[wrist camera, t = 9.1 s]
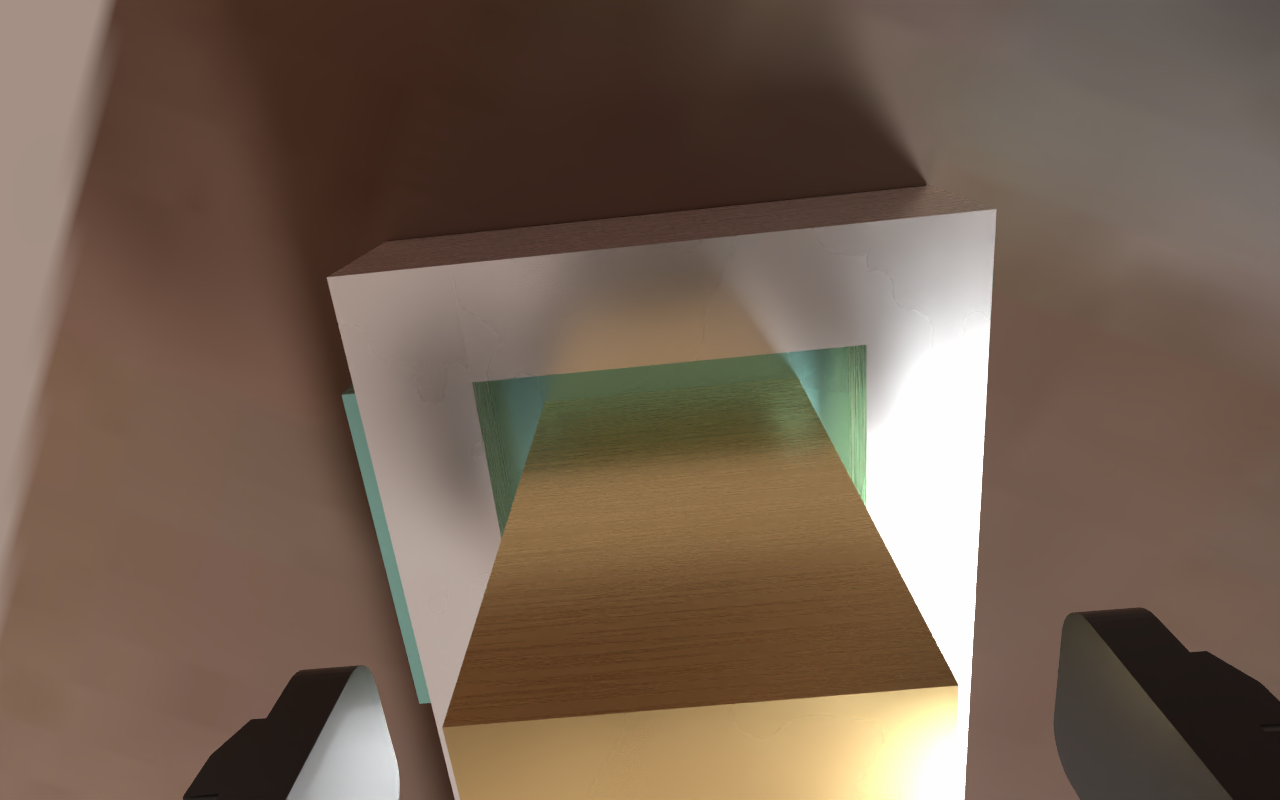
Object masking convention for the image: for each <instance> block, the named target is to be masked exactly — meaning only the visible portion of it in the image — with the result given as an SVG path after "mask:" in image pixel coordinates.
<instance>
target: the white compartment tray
mask: <svg viewBox="0 0 1280 800" xmlns="http://www.w3.org/2000/svg"><path fill="white" fill-rule="evenodd" d="M995 226H996V209H995V208H992V207H989V206H986V205H983V204H980V203H978V202H975V201H972V200H969V199H966V198H963V197H961V196H958V195H955V194H952V193H949V192H946V191H944V190H941V189H938V188H935V187H932V186H930V185H929V186H919V187H909V188H900V189H890V190H880V191H871V192H861V193H851V194H842V195H832V196H822V197H813V198H803V199H793V200H784V201H774V202H764V203H755V204H745V205H735V206H726V207H716V208H706V209H697V210H687V211H677V212H668V213H658V214H648V215H639V216H629V217H619V218H610V219H600V220H590V221H581V222H571V223H561V224H552V225H542V226H532V227H523V228H513V229H503V230H494V231H484V232H474V233H465V234H455V235H445V236H436V237H426V238H416V239H407V240H397V241H387V242H384V243H383V244H381V245H379V246H378V247H376V248H374V249H373V250H371V251H369V252H368V253H366V254H364V255H363V256H361V257H360V258H358V259H356V260H355V261H353V262H351V263H350V264H348V265H346V266H345V267H343V268H341V269H340V270H338V271H336V272H335V273H333V274H331V275H330V276H328V277H327V281H328V285H329V289H330V293H331V297H332V301H333V305H334V309H335V313H336V317H337V322H338V326H339V330H340V334H341V338H342V342H343V346H344V350H345V354H346V358H347V362H348V366H349V370H350V374H351V379H352V383H353V384H352V385H351V386H350V387H349V388H348V389H347V390H346V391H345V392H344V393H343V394H342V399H343V403H344V407H345V411H346V414H347V418H348V422H349V426H350V430H351V434H352V438H353V442H354V446H355V450H356V454H357V458H358V462H359V466H360V470H361V474H362V478H363V482H364V486H365V490H366V494H367V498H368V502H369V506H370V510H371V514H372V518H373V522H374V526H375V530H376V534H377V537H378V541H379V545H380V549H381V553H382V557H383V561H384V565H385V569H386V573H387V577H388V581H389V585H390V589H391V593H392V597H393V601H394V605H395V609H396V613H397V617H398V621H399V625H400V629H401V633H402V637H403V641H404V645H405V649H406V653H407V657H408V660H409V664H410V668H411V672H412V676H413V680H414V684H415V688H416V692H417V696H418V700H419V704H422V703H431V705H432V709H433V713H434V717H435V721H436V725H437V729H438V733H439V737H440V741H441V745H442V749H443V753H444V758H445V762H446V766H447V770H448V774H449V778H450V782H451V786H452V790H453V794H454V798H455V800H460V797H459V793H458V789H457V785H456V781H455V777H454V773H453V769H452V765H451V761H450V757H449V753H448V749H447V745H446V741H445V737H444V733H443V729H442V726H443V723H444V720H445V717H446V714H447V711H448V707H449V704H450V701H451V698H452V695H453V692H454V688H455V685H456V682H457V679H458V676H459V673H460V669H461V666H462V663H463V660H464V657H465V653H466V650H467V647H468V644H469V641H470V638H471V634H472V631H473V628H474V625H475V622H476V619H477V615H478V612H479V609H480V606H481V603H482V600H483V596H484V593H485V590H486V587H487V584H488V581H489V577H490V574H491V571H492V568H493V565H494V561H495V558H496V555H497V552H498V549H499V546H500V542H501V539H502V536H503V533H504V530H505V527H506V523H507V520H508V517H509V514H510V511H511V508H512V504H513V501H514V498H515V495H516V492H517V488H518V485H519V482H520V479H521V476H522V473H523V469H524V466H525V463H526V460H527V457H528V454H529V450H530V447H531V444H532V441H533V438H534V435H535V431H536V428H537V425H538V422H539V419H540V415H541V412H542V409H543V406H544V403H545V402H548V401H558V400H569V399H579V398H589V397H599V396H609V395H619V394H630V393H640V392H650V391H660V390H670V389H680V388H691V387H701V386H711V385H721V384H731V383H741V382H752V381H762V380H772V379H782V378H792V377H798V379H799V380H800V382H801V384H802V386H803V388H804V390H805V392H806V394H807V396H808V398H809V400H810V401H811V403H812V405H813V407H814V409H815V411H816V413H817V415H818V417H819V419H820V421H821V422H822V424H823V426H824V428H825V430H826V432H827V434H828V436H829V438H830V440H831V442H832V443H833V445H834V447H835V449H836V451H837V453H838V455H839V457H840V459H841V461H842V463H843V464H844V466H845V468H846V470H847V472H848V474H849V476H850V478H851V480H852V482H853V484H854V485H855V487H856V489H857V491H858V493H859V495H860V497H861V499H862V501H863V503H864V505H865V506H866V508H867V510H868V512H869V514H870V516H871V518H872V520H873V522H874V524H875V526H876V527H877V529H878V531H879V533H880V535H881V537H882V539H883V541H884V543H885V545H886V547H887V548H888V550H889V552H890V554H891V556H892V558H893V560H894V562H895V564H896V566H897V568H898V569H899V571H900V573H901V575H902V577H903V579H904V581H905V583H906V585H907V587H908V589H909V590H910V592H911V594H912V596H913V598H914V600H915V602H916V604H917V606H918V608H919V610H920V611H921V613H922V615H923V617H924V619H925V621H926V623H927V625H928V627H929V629H930V631H931V632H932V634H933V636H934V638H935V640H936V642H937V644H938V646H939V648H940V650H941V652H942V653H943V655H944V657H945V659H946V661H947V663H948V665H949V667H950V669H951V671H952V673H953V674H954V676H955V678H956V680H957V682H958V684H959V705H958V728H957V751H956V774H955V797H954V800H964V790H965V772H966V754H967V736H968V718H969V699H970V681H971V663H972V645H973V627H974V608H975V590H976V572H977V554H978V536H979V517H980V499H981V481H982V463H983V445H984V426H985V408H986V390H987V372H988V354H989V335H990V317H991V299H992V281H993V263H994V244H995Z"/></svg>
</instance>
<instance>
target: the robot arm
mask: <svg viewBox="0 0 1280 800" xmlns="http://www.w3.org/2000/svg"><path fill="white" fill-rule="evenodd" d="M1054 734H1055V740H1056V746H1057V750H1058V754H1059V757H1060V760H1061V763H1062V766H1063V769H1064V771H1065V773H1066V775H1067V778H1068V779H1069V781H1070V783H1071V785H1072V786H1073V788H1074V790H1075V791H1076V793H1077V795H1078V796H1079V798H1080V800H1280V701H1279V700H1278V699H1277V698H1276V697H1275V696H1274V695H1273V694H1271V693H1270V692H1269V691H1268V690H1267V689H1266V688H1265V687H1264V686H1263V685H1262V684H1261V683H1260V682H1258V681H1257V680H1255V679H1253V678H1252V677H1250V676H1248V675H1246V674H1245V673H1243V672H1241V671H1240V670H1238V669H1236V668H1235V667H1233V666H1231V665H1229V664H1228V663H1226V662H1224V661H1223V660H1221V659H1219V658H1217V657H1216V656H1214V655H1212V654H1211V653H1209V652H1207V651H1202V652H1189V651H1188V650H1187V649H1186V648H1185V647H1184V646H1183V645H1182V644H1181V643H1180V642H1179V640H1178V639H1177V638H1176V637H1175V636H1174V635H1173V634H1172V633H1171V632H1170V631H1169V630H1168V629H1167V628H1166V627H1165V626H1164V625H1163V624H1162V623H1161V622H1160V621H1159V619H1158V618H1157V617H1156V616H1155V615H1153V614H1152V613H1151V612H1150V611H1148V610H1147V609H1144V608H1127V609H1114V610H1101V611H1088V612H1075V613H1071V614H1069V615H1068V616H1067V617H1066V619H1065V621H1064V624H1063V628H1062V637H1061V648H1060V658H1059V669H1058V680H1057V691H1056V701H1055V712H1054ZM183 800H399V770H398V765H397V760H396V757H395V753H394V749H393V746H392V742H391V738H390V735H389V731H388V727H387V724H386V720H385V716H384V713H383V709H382V705H381V702H380V698H379V695H378V691H377V687H376V684H375V680H374V677H373V675H372V673H371V671H370V670H369V669H368V668H367V667H366V666H363V665H361V666H348V667H335V668H322V669H309V670H300V671H299V672H297V673H296V674H295V675H294V676H293V677H292V678H291V680H290V681H289V683H288V684H287V686H286V687H285V689H284V691H283V692H282V694H281V696H280V697H279V699H278V700H277V702H276V704H275V705H274V707H273V708H272V710H271V712H270V713H269V715H268V717H267V718H265V719H251V720H250V721H249V722H248V723H247V724H246V725H244V726H243V727H242V728H241V729H240V730H239V731H238V732H237V733H235V734H234V735H233V736H232V737H231V738H230V739H229V740H227V741H226V742H225V743H224V744H223V745H222V746H221V747H220V748H218V749H217V750H216V751H215V752H214V753H213V754H212V755H211V756H210V757H209V759H208V760H207V762H206V763H205V765H204V766H203V768H202V769H201V771H200V772H199V774H198V775H197V777H196V778H195V779H194V781H193V782H192V784H191V785H190V787H189V788H188V790H187V791H186V793H185V794H184V796H183Z"/></svg>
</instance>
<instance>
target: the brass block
mask: <svg viewBox="0 0 1280 800" xmlns="http://www.w3.org/2000/svg"><path fill="white" fill-rule="evenodd" d="M958 705H959V684H958V682H957V680H956V678H955V676H954V674H953V673H952V671H951V669H950V667H949V665H948V663H947V661H946V659H945V657H944V655H943V653H942V652H941V650H940V648H939V646H938V644H937V642H936V640H935V638H934V636H933V634H932V632H931V631H930V629H929V627H928V625H927V623H926V621H925V619H924V617H923V615H922V613H921V611H920V610H919V608H918V606H917V604H916V602H915V600H914V598H913V596H912V594H911V592H910V590H909V589H908V587H907V585H906V583H905V581H904V579H903V577H902V575H901V573H900V571H899V569H898V568H897V566H896V564H895V562H894V560H893V558H892V556H891V554H890V552H889V550H888V548H887V547H886V545H885V543H884V541H883V539H882V537H881V535H880V533H879V531H878V529H877V527H876V526H875V524H874V522H873V520H872V518H871V516H870V514H869V512H868V510H867V508H866V506H865V505H864V503H863V501H862V499H861V497H860V495H859V493H858V491H857V489H856V487H855V485H854V484H853V482H852V480H851V478H850V476H849V474H848V472H847V470H846V468H845V466H844V464H843V463H842V461H841V459H840V457H839V455H838V453H837V451H836V449H835V447H834V445H833V443H832V442H831V440H830V438H829V436H828V434H827V432H826V430H825V428H824V426H823V424H822V422H821V421H820V419H819V417H818V415H817V413H816V411H815V409H814V407H813V405H812V403H811V401H810V400H809V398H808V396H807V394H806V392H805V390H804V388H803V386H802V384H801V382H800V380H799V379H798V377H792V378H782V379H772V380H762V381H752V382H741V383H731V384H721V385H711V386H701V387H691V388H680V389H670V390H660V391H650V392H640V393H630V394H619V395H609V396H599V397H589V398H579V399H569V400H558V401H548V402H545V403H544V406H543V409H542V412H541V415H540V419H539V422H538V425H537V428H536V431H535V435H534V438H533V441H532V444H531V447H530V450H529V454H528V457H527V460H526V463H525V466H524V469H523V473H522V476H521V479H520V482H519V485H518V488H517V492H516V495H515V498H514V501H513V504H512V508H511V511H510V514H509V517H508V520H507V523H506V527H505V530H504V533H503V536H502V539H501V542H500V546H499V549H498V552H497V555H496V558H495V561H494V565H493V568H492V571H491V574H490V577H489V581H488V584H487V587H486V590H485V593H484V596H483V600H482V603H481V606H480V609H479V612H478V615H477V619H476V622H475V625H474V628H473V631H472V634H471V638H470V641H469V644H468V647H467V650H466V653H465V657H464V660H463V663H462V666H461V669H460V673H459V676H458V679H457V682H456V685H455V688H454V692H453V695H452V698H451V701H450V704H449V707H448V711H447V714H446V717H445V720H444V723H443V726H442V729H443V733H444V737H445V741H446V745H447V749H448V753H449V757H450V761H451V765H452V769H453V773H454V777H455V781H456V785H457V789H458V793H459V797H460V800H954V797H955V774H956V751H957V728H958Z"/></svg>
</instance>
